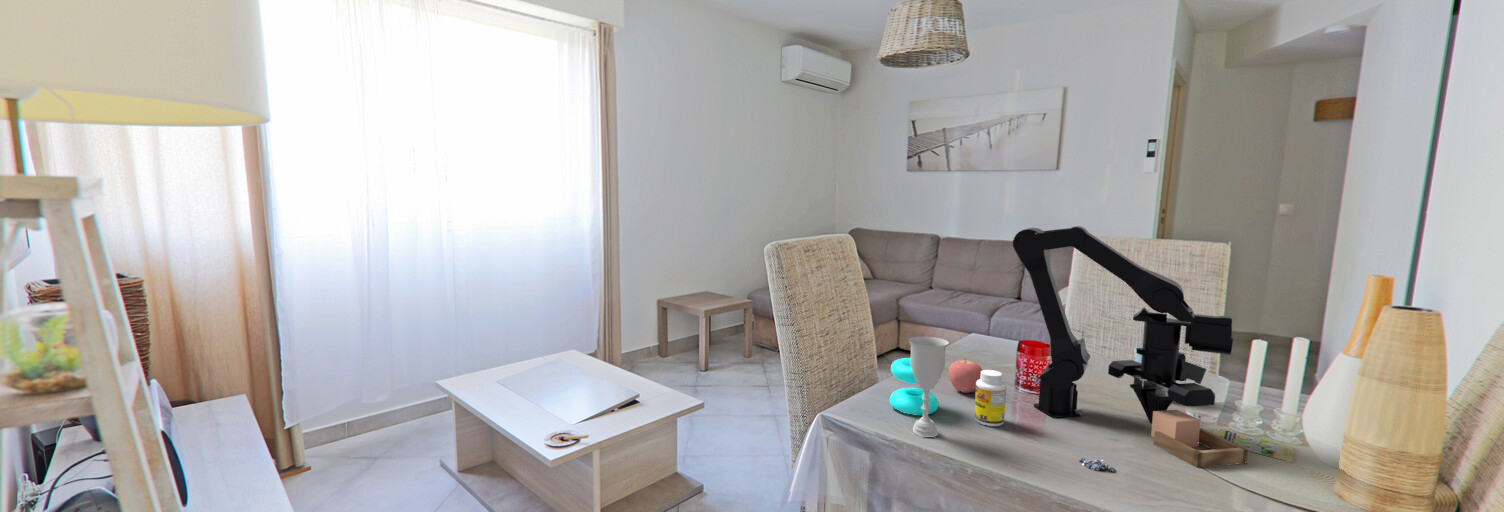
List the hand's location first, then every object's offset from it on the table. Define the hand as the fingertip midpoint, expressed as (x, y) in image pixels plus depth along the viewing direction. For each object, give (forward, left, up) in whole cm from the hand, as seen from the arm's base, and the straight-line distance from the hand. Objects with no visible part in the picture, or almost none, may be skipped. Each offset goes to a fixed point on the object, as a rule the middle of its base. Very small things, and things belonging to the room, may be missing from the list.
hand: (1154, 424), depth 112 cm
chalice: (-44, +6, -2) cm, 44 cm away
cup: (+15, +17, -2) cm, 22 cm away
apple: (-25, +26, -2) cm, 36 cm away
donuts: (-41, +18, -2) cm, 45 cm away
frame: (0, -9, -1) cm, 9 cm away
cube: (0, -5, -1) cm, 5 cm away
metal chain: (-21, -11, -2) cm, 24 cm away
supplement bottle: (-29, +9, -2) cm, 30 cm away
